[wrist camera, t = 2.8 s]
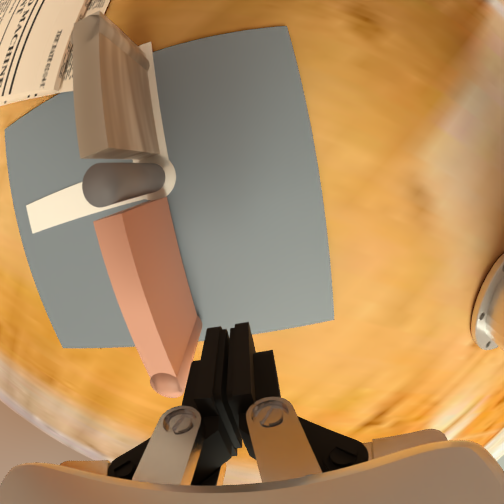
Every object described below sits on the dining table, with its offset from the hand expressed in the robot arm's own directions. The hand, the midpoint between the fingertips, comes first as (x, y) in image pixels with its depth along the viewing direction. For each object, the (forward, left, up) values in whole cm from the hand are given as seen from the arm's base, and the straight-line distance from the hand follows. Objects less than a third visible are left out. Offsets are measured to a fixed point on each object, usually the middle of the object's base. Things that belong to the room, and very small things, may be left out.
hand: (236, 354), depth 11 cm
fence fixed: (+5, -13, -9) cm, 17 cm away
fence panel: (+5, -2, -9) cm, 10 cm away
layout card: (+7, -7, -10) cm, 14 cm away
